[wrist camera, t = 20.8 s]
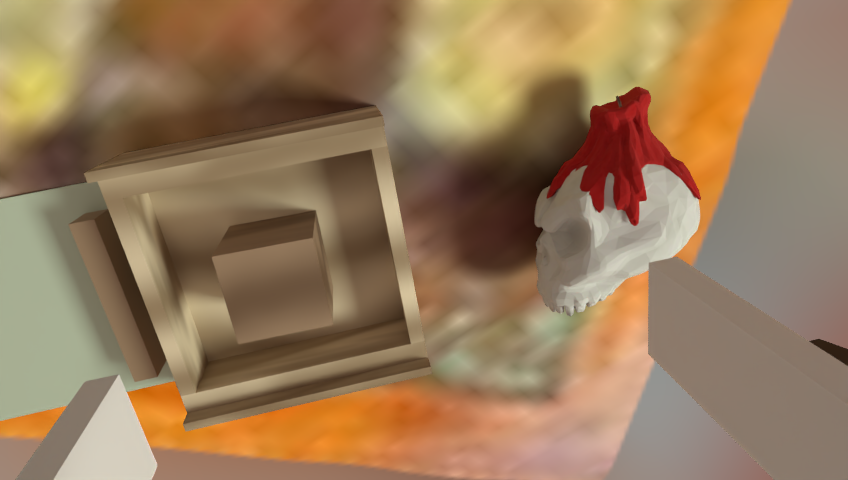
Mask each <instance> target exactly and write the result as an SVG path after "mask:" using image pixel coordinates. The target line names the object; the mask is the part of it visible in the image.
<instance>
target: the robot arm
mask: <svg viewBox="0 0 848 480" xmlns="http://www.w3.org/2000/svg"><path fill="white" fill-rule="evenodd" d="M648 354H649V355H650V356H651V357H652V358H653V359H654V360H655V361H656V362H657V363H658V364H659V365H660V366H661V367H662V368H663V369H664V370H665V371H666V372H667V373H668V374H669V375H670V376H671V377H672V378H673V379H674V380H675V381H676V382H677V383H678V384H679V385H680V386H681V387H682V388H683V389H684V390H685V391H686V392H687V393H688V394H689V395H690V396H691V397H692V398H693V399H694V400H695V401H696V402H697V403H698V404H699V405H700V406H701V407H702V408H703V409H704V410H705V411H706V412H707V413H708V414H709V415H710V416H711V417H712V418H713V419H714V420H715V421H716V422H717V423H718V424H719V425H720V426H721V427H722V428H723V429H724V430H725V431H726V432H727V433H728V434H729V435H730V436H731V437H732V438H733V439H734V440H735V441H736V442H737V443H738V444H739V445H740V446H741V447H742V448H743V449H744V450H745V451H746V452H747V453H748V454H749V455H750V456H751V457H752V458H753V459H754V460H755V461H756V462H757V463H758V464H759V465H760V466H761V467H762V468H763V469H764V470H765V471H766V472H767V473H768V474H769V475H770V476H771V477H772V478H773V479H774V480H848V349H846V348H843V347H840V346H837V345H835V344H832V343H829V342H826V341H824V340H820V339H817V340H812V341H808V340H806V339H805V338H803V337H801V336H800V335H798V334H797V333H795V332H794V331H792V330H790V329H789V328H787V327H786V326H784V325H782V324H781V323H780V322H778V321H776V320H775V319H773V318H772V317H770V316H769V315H767V314H765V313H764V312H762V311H761V310H759V309H758V308H756V307H754V306H753V305H751V304H750V303H748V302H747V301H745V300H743V299H742V298H740V297H739V296H737V295H736V294H734V293H732V292H731V291H729V290H728V289H726V288H725V287H723V286H722V285H720V284H718V283H717V282H715V281H714V280H712V279H711V278H709V277H707V276H706V275H704V274H703V273H701V272H700V271H698V270H697V269H695V268H694V267H692V266H690V265H689V264H687V263H686V262H684V261H683V260H681V259H679V258H678V257H673V258H668V259H664V260H659V261H654V262H649V303H648ZM156 468H157V463H156V460H155V459H154V456H153V453H152V451H151V449H150V446H149V444H148V442H147V439H146V437H145V434H144V432H143V430H142V427H141V425H140V423H139V420H138V418H137V416H136V413H135V411H134V408H133V406H132V404H131V401H130V399H129V397H128V394H127V392H126V390H125V387H124V385H123V382H122V380H121V378H120V375H119V374H118V375H113V376H108V377H103V378H99V379H94V380H89V381H85V382H84V383H83V385H82V386H81V388H80V389H79V390H78V392H77V393H76V395H75V396H74V397H73V399H72V400H71V402H70V403H69V405H68V406H67V407H66V409H65V410H64V412H63V413H62V414H61V416H60V417H59V419H58V420H57V421H56V423H55V424H54V426H53V427H52V429H51V430H50V431H49V433H48V434H47V436H46V437H45V438H44V440H43V441H42V443H41V444H40V446H39V447H38V448H37V450H36V451H35V452H34V454H33V455H32V457H31V458H30V460H29V461H28V462H27V464H26V465H25V467H24V468H23V470H22V471H21V472H20V474H19V475H18V476H17V478H16V479H15V480H152V478H153V475H154V473H155V470H156Z"/></svg>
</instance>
